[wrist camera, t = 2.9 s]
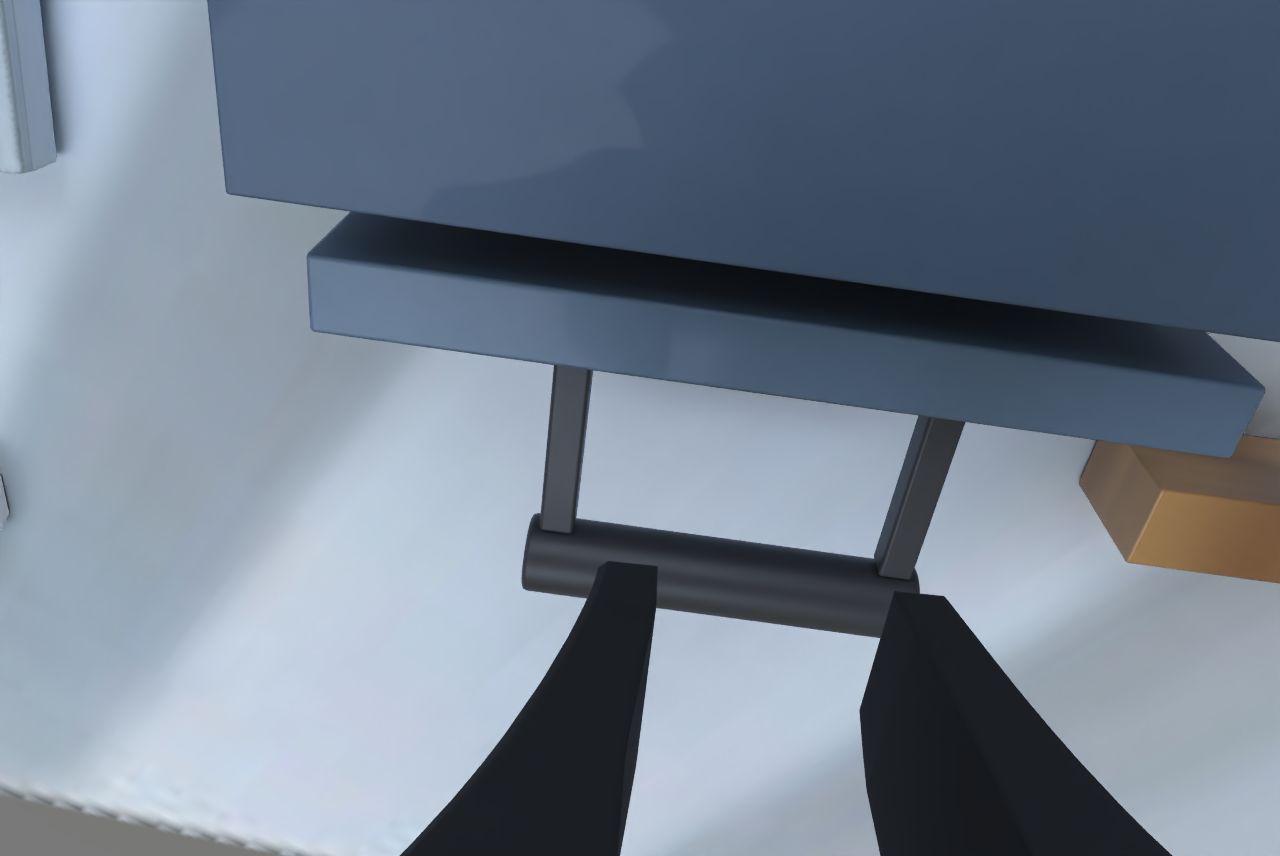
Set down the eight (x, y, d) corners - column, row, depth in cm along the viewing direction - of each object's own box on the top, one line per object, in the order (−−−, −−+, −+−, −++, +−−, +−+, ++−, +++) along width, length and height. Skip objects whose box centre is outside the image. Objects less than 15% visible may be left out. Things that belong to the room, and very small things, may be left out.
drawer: (999, 506, 22) (1096, 716, 17) (418, 426, 22) (324, 613, 16) (1418, -564, 13) (1938, -876, 7) (429, -719, 13) (224, -1156, 7)
